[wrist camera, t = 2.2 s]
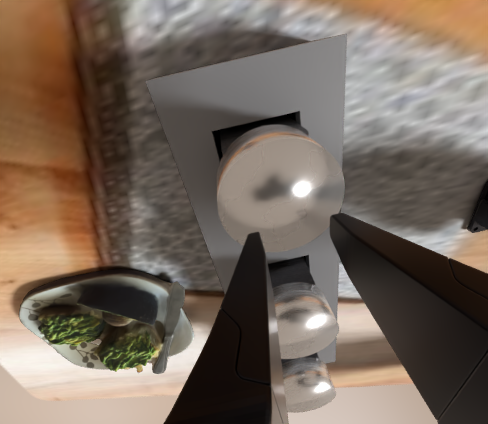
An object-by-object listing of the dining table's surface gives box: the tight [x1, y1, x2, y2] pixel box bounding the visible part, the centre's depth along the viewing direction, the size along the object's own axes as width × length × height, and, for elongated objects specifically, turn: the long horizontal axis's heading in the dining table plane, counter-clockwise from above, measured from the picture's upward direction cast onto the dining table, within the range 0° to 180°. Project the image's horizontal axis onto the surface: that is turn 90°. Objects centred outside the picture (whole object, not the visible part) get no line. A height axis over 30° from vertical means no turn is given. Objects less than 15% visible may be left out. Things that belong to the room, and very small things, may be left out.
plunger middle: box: [268, 256, 339, 359], centre depth 19 cm, size 6×6×7 cm
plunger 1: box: [217, 114, 345, 252], centre depth 13 cm, size 6×6×7 cm
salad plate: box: [19, 269, 194, 374], centre depth 28 cm, size 19×18×5 cm
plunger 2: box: [281, 352, 336, 412], centre depth 25 cm, size 6×6×7 cm
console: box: [145, 34, 347, 364], centre depth 23 cm, size 10×33×5 cm, turn 11°
